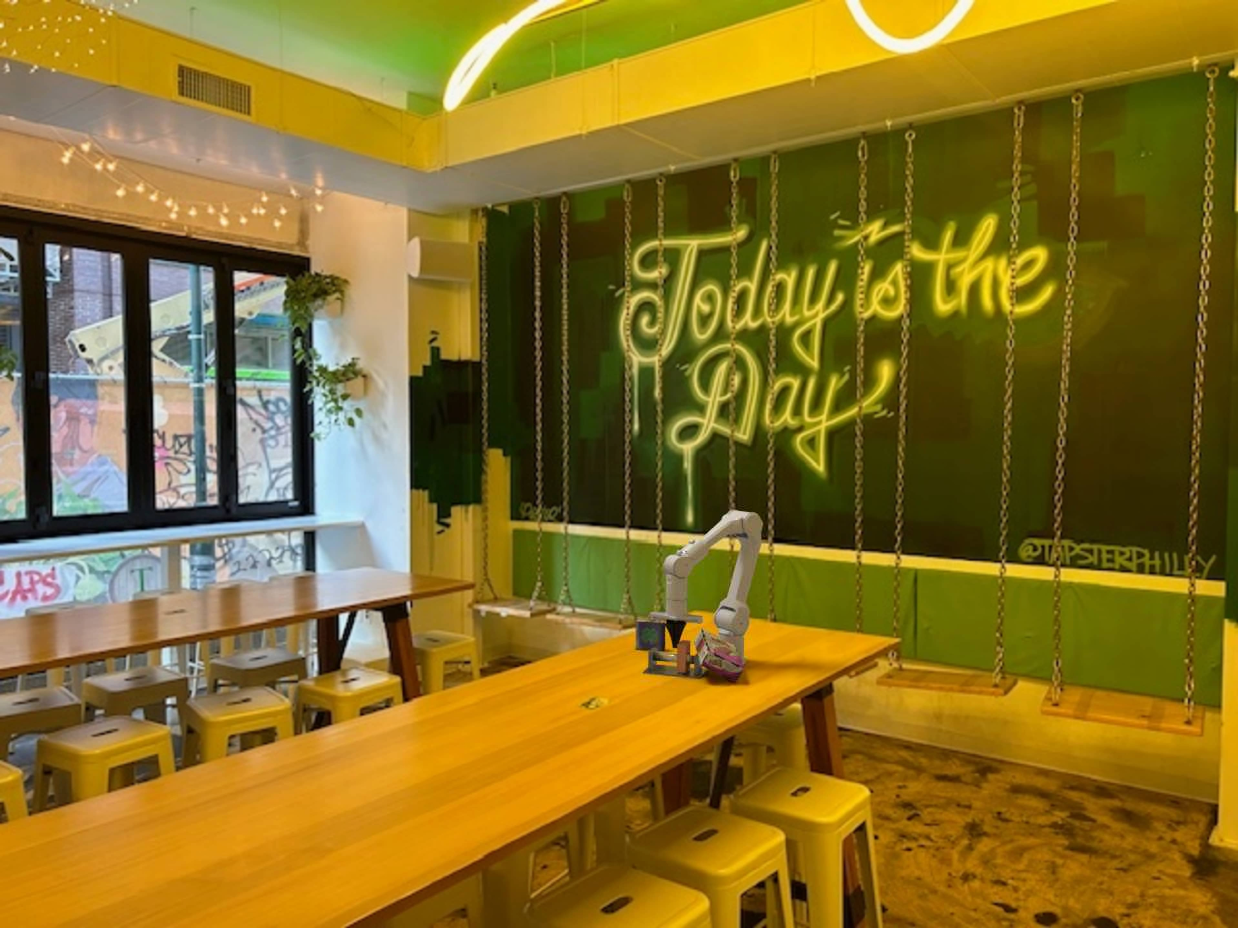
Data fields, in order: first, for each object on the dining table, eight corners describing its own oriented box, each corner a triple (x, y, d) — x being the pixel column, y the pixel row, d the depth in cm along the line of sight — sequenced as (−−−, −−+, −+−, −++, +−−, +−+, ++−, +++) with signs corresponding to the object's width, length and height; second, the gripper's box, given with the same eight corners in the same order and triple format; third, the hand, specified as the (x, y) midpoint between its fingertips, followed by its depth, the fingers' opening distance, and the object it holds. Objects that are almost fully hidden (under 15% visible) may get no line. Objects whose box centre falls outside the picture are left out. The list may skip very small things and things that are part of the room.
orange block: (681, 666, 260) (682, 639, 260) (690, 667, 259) (690, 640, 259) (676, 671, 254) (677, 644, 254) (685, 672, 254) (685, 645, 253)
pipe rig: (651, 665, 264) (651, 645, 264) (706, 670, 260) (707, 650, 259) (642, 673, 256) (643, 652, 255) (700, 678, 251) (700, 658, 251)
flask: (634, 649, 282) (635, 614, 282) (636, 647, 285) (637, 613, 285) (664, 652, 280) (665, 616, 280) (666, 649, 283) (666, 615, 282)
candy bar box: (709, 649, 245) (701, 627, 261) (700, 665, 246) (692, 642, 262) (746, 667, 247) (735, 644, 263) (736, 683, 248) (726, 658, 264)
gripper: (647, 599, 255) (646, 648, 256) (699, 603, 251) (698, 652, 251) (653, 595, 262) (653, 642, 262) (704, 598, 258) (703, 647, 258)
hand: (675, 647), depth 257 cm, fingers closed
